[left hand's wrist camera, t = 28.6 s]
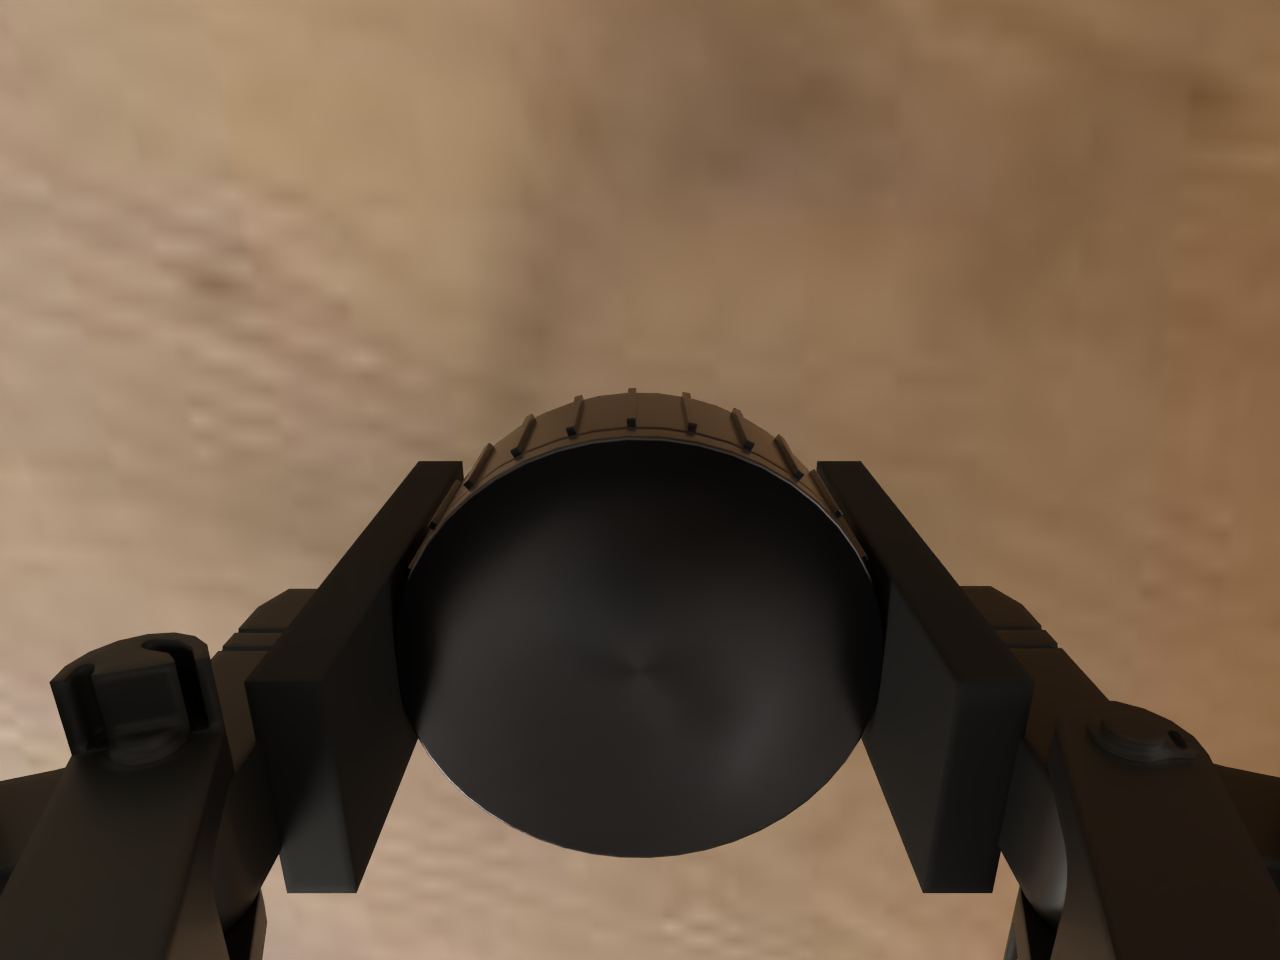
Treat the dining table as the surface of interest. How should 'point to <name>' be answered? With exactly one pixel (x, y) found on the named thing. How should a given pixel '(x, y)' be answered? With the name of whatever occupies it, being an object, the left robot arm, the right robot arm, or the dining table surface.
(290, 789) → the left robot arm
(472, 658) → the lid
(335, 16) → the dining table surface
